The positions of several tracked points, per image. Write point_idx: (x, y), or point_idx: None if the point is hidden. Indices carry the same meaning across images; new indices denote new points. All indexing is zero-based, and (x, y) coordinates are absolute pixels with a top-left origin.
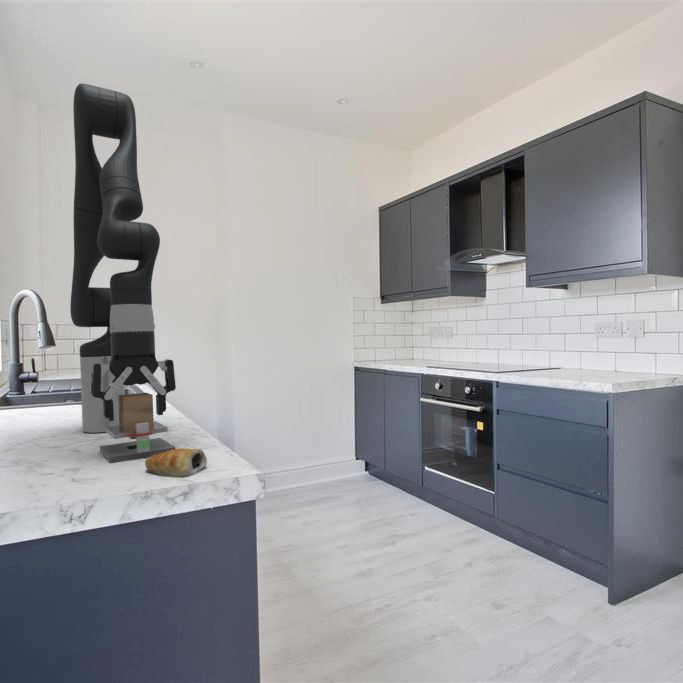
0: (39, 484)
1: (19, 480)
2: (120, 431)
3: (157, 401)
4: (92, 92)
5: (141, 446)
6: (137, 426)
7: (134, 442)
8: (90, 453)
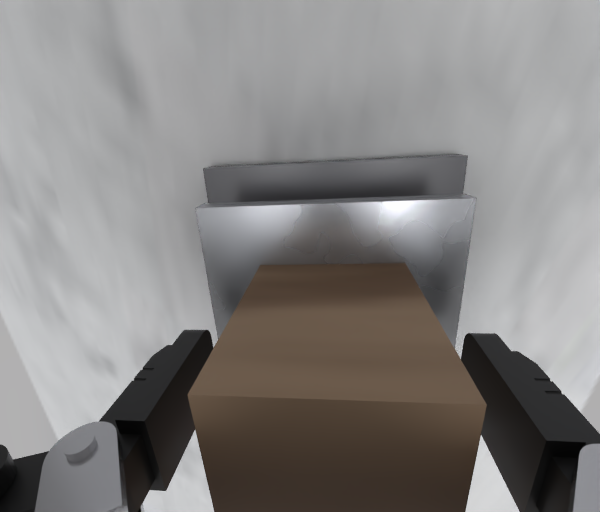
0: None
1: (53, 378)
2: None
3: (503, 431)
4: None
5: None
6: None
7: (340, 191)
8: (180, 177)
